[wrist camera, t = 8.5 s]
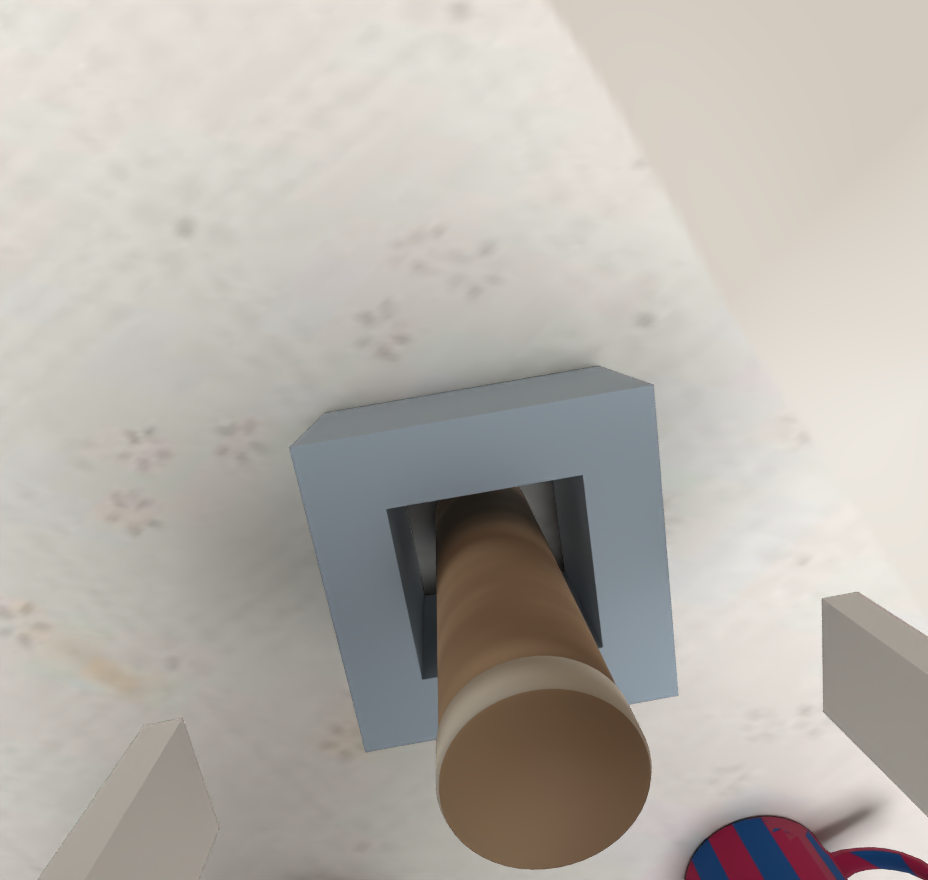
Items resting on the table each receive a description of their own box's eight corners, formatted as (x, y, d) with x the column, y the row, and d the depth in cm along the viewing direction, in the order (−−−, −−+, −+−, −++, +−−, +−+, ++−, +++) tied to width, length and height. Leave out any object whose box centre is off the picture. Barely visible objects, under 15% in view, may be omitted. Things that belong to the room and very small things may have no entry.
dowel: (443, 570, 21) (456, 888, 10) (426, 481, 20) (417, 712, 9) (536, 554, 21) (661, 850, 10) (524, 464, 20) (645, 672, 9)
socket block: (380, 654, 22) (365, 752, 17) (325, 412, 20) (289, 447, 15) (624, 610, 22) (678, 695, 17) (599, 365, 20) (653, 384, 15)
